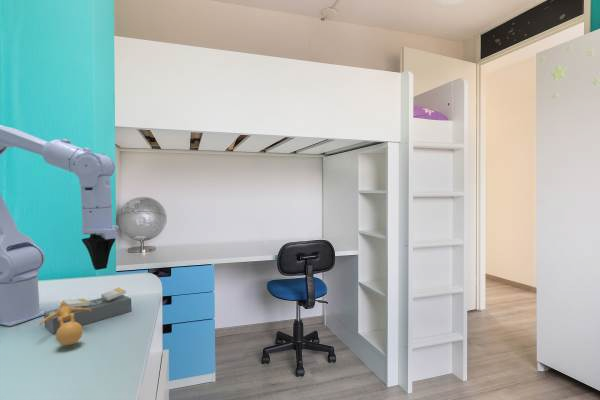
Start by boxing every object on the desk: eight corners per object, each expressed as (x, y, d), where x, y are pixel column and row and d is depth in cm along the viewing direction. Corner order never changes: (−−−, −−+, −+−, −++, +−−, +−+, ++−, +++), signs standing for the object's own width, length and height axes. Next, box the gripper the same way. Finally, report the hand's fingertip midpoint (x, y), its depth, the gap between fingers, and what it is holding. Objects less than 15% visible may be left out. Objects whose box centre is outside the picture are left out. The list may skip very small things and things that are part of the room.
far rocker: (108, 302, 75) (107, 297, 75) (102, 299, 78) (100, 294, 77) (126, 294, 78) (125, 289, 78) (119, 291, 81) (118, 287, 80)
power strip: (53, 334, 67) (52, 317, 66) (44, 326, 70) (44, 310, 70) (131, 311, 78) (131, 297, 78) (120, 305, 82) (119, 292, 82)
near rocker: (67, 309, 69) (68, 303, 69) (61, 306, 72) (62, 300, 72) (89, 307, 72) (90, 301, 72) (83, 304, 75) (84, 298, 75)
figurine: (40, 343, 56) (34, 294, 64) (45, 366, 59) (38, 317, 67) (97, 325, 61) (85, 282, 69) (99, 347, 64) (87, 303, 72)
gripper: (129, 207, 73) (133, 269, 74) (104, 205, 83) (107, 261, 83) (93, 209, 68) (97, 276, 68) (70, 208, 77) (74, 267, 78)
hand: (100, 268), depth 76 cm, fingers closed
